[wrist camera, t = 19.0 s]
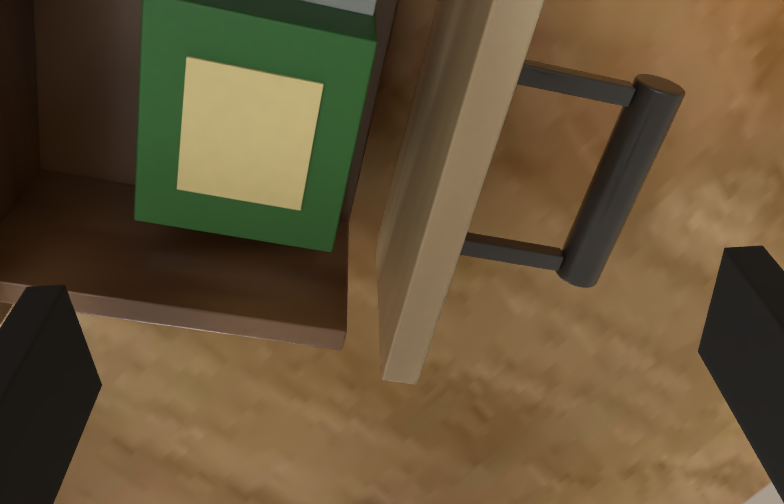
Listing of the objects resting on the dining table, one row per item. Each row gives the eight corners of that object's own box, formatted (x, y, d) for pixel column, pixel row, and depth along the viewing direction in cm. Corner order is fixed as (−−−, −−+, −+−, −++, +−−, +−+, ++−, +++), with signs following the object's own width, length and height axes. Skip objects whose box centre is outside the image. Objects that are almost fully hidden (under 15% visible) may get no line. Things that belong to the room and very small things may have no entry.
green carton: (331, 200, 27) (326, 281, 23) (167, 171, 26) (131, 250, 22) (381, -42, 23) (387, 4, 18) (184, -87, 22) (142, -50, 17)
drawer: (672, -64, 24) (792, 5, 17) (535, 271, 31) (583, 408, 24) (9, -228, 21) (-153, -222, 14) (31, 188, 28) (-68, 320, 21)
